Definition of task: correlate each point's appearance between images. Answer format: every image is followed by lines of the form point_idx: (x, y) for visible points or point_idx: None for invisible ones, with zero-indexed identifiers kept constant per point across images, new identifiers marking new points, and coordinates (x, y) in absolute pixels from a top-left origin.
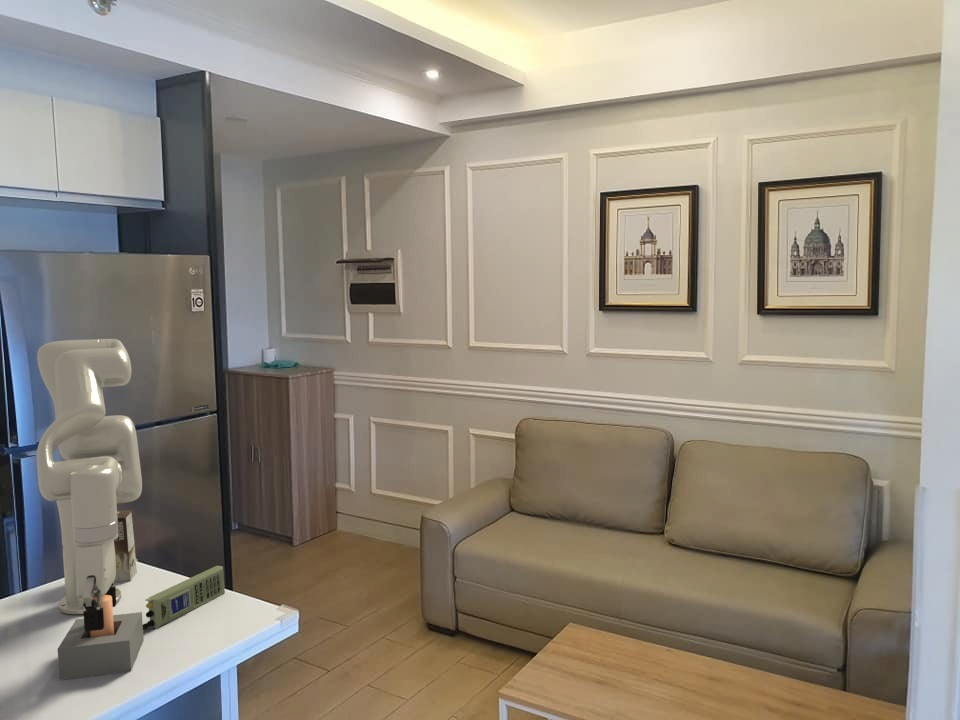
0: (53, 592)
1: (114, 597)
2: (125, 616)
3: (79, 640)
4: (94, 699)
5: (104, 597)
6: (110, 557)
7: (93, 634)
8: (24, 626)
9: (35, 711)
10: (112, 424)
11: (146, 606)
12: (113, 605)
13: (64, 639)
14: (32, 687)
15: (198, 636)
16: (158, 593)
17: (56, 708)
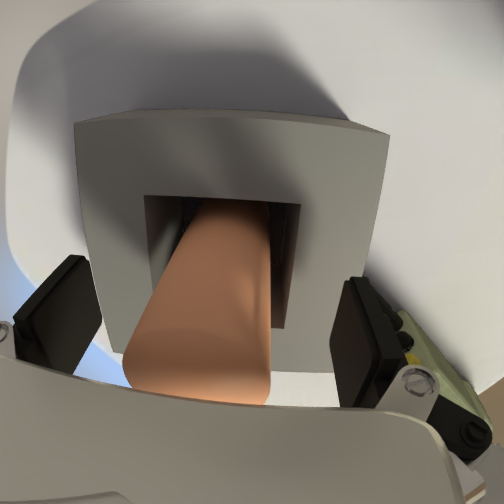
0: None
1: (336, 378)
2: (319, 334)
3: (128, 195)
4: (37, 229)
5: (223, 398)
6: None
7: (181, 240)
8: None
9: (11, 112)
10: None
11: (411, 355)
12: (331, 341)
13: (154, 122)
14: (112, 46)
15: (284, 398)
16: (443, 388)
17: (14, 156)
